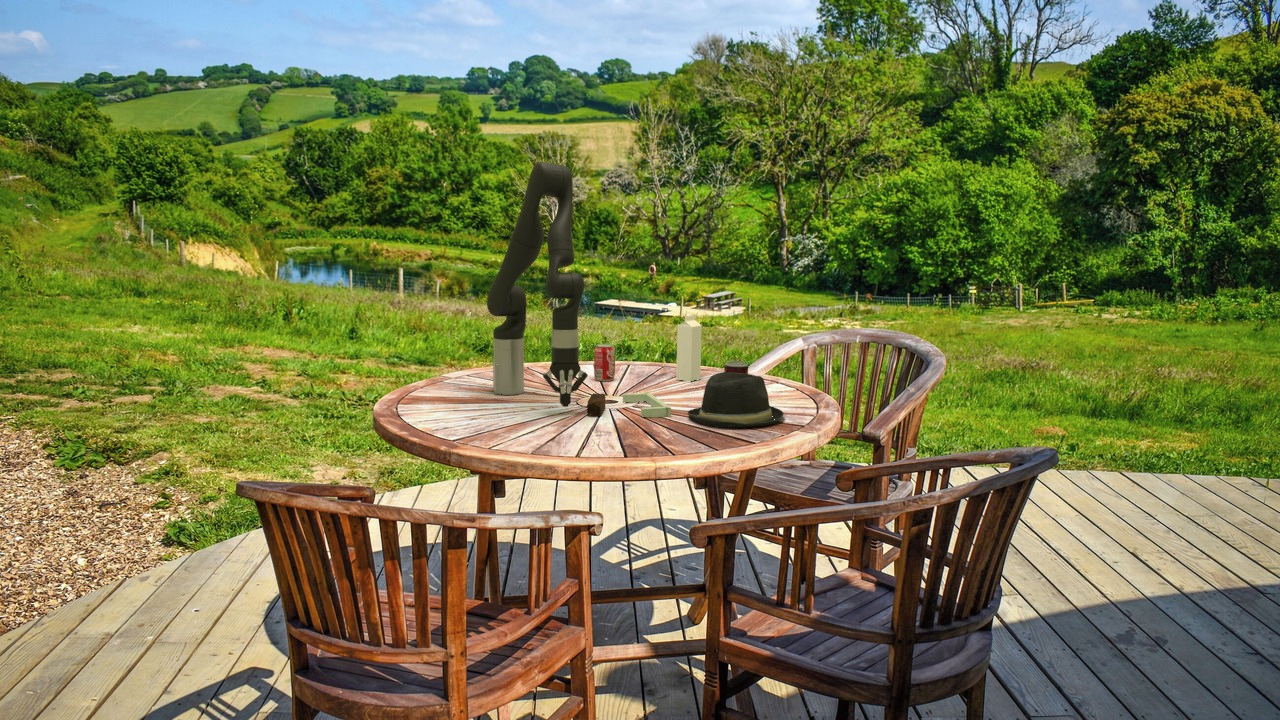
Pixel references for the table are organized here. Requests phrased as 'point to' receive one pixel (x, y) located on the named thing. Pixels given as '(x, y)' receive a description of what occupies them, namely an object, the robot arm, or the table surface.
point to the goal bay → (657, 405)
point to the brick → (596, 405)
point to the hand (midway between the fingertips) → (565, 406)
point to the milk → (688, 349)
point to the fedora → (735, 402)
